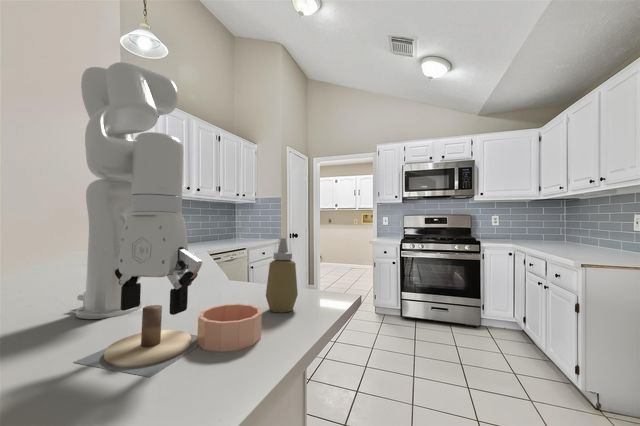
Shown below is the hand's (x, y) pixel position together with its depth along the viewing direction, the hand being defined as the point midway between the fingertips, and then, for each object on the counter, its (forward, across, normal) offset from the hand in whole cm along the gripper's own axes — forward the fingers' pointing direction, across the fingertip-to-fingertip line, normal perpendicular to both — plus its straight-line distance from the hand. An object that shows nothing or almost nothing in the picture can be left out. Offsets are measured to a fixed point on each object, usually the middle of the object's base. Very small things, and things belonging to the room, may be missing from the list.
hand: (153, 310), depth 47 cm
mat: (+7, -1, 0) cm, 7 cm away
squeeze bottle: (+7, +11, +28) cm, 31 cm away
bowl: (+7, +9, +8) cm, 14 cm away
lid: (+6, -1, 0) cm, 7 cm away
